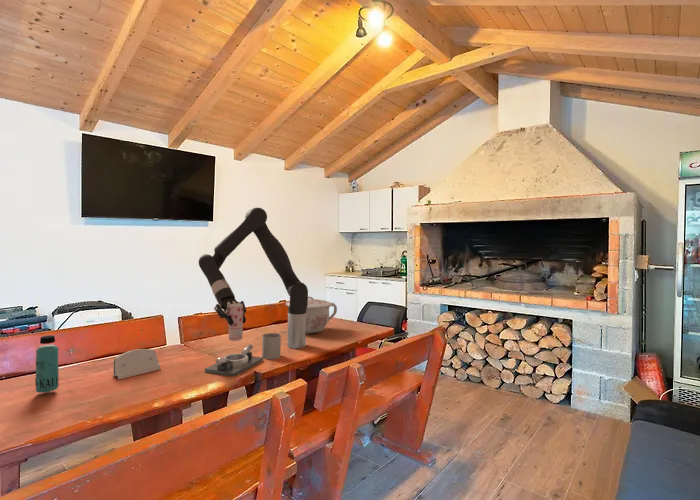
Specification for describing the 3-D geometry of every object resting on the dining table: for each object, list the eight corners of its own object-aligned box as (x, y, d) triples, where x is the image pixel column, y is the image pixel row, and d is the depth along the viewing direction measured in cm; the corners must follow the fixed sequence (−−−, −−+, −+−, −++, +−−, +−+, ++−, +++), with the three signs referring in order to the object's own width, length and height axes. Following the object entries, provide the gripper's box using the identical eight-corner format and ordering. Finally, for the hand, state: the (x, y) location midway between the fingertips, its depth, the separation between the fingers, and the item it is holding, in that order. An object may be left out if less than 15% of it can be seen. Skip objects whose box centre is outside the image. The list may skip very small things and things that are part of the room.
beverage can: (235, 341, 165) (235, 306, 165) (225, 339, 168) (226, 304, 168) (245, 339, 170) (246, 304, 170) (236, 336, 173) (236, 302, 173)
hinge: (117, 379, 151) (114, 353, 153) (113, 380, 154) (109, 355, 156) (161, 368, 164) (158, 344, 166) (156, 370, 167) (153, 346, 169)
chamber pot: (276, 334, 226) (277, 298, 225) (296, 324, 252) (297, 292, 252) (322, 339, 218) (323, 301, 217) (338, 328, 244) (339, 295, 243)
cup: (283, 355, 186) (284, 334, 186) (273, 360, 179) (273, 338, 178) (269, 353, 190) (269, 332, 189) (258, 357, 182) (258, 336, 182)
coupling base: (237, 356, 183) (237, 342, 183) (264, 360, 178) (264, 345, 178) (203, 372, 161) (203, 356, 160) (232, 377, 156) (233, 360, 156)
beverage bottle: (43, 389, 140) (43, 333, 139) (63, 389, 140) (63, 333, 140) (30, 397, 133) (30, 338, 132) (51, 397, 134) (51, 338, 133)
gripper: (211, 288, 167) (227, 320, 160) (240, 285, 179) (256, 315, 172) (204, 299, 171) (219, 331, 164) (233, 295, 182) (248, 325, 175)
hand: (238, 323), depth 168 cm, fingers closed on beverage can, 5 cm apart
